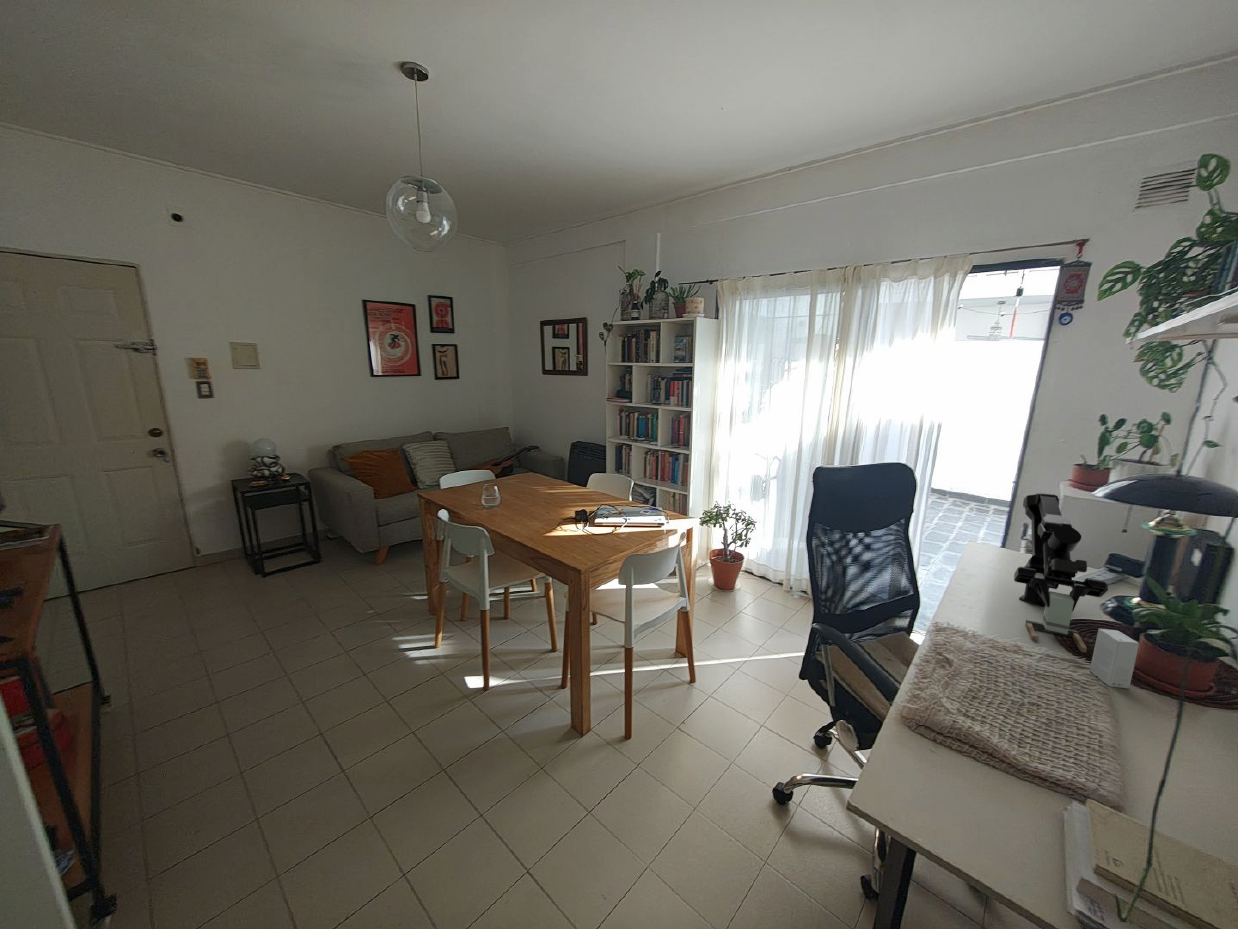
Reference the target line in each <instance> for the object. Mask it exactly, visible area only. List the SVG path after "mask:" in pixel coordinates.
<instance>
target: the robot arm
mask: <svg viewBox="0 0 1238 929" xmlns="http://www.w3.org/2000/svg"><path fill="white" fill-rule="evenodd" d="M1022 507H1023V508H1024V511H1025V513H1024V514H1025V515H1026V516H1027V517H1028V519H1029V520H1030V521H1031V557H1030V558H1029V560H1028V561H1027V563H1026V564H1025V565H1024V566H1018V567H1017V568H1016V570H1015V572H1014V576H1013V581H1014V582H1016V583H1021V584H1025V586H1024V587H1025V588H1024V594H1023V595H1021V596H1019V598H1018V599H1019V600H1021V601H1024V602H1027V603H1029V604H1033V605H1036V606H1039V607H1042V608H1045V605H1046V606H1047V607H1049V606H1050V600H1049V594H1048V591H1050V589H1053V590H1058V588H1059V585H1061V586H1064V587H1065V586H1066V587H1070V588H1072V589H1071V591H1070V592H1069V595H1070V596H1071V598H1072V599H1073V600H1074V604H1073V609H1072V613H1073V612H1074V610H1075V608H1076V606H1077V603H1078V601H1079V600H1080V598H1081V597H1083V598H1084V597H1085V596H1091V597H1095V598H1100V597H1101V598H1102V597H1103V596H1104V595H1105V594H1106V593H1107V592H1108V591H1109V586H1108V583H1106V581H1105V580H1102V579H1095V578H1089V577H1086V578H1085V579H1084V581H1080V580H1076V579H1075V580H1074V578H1075V577H1076V574H1077V575H1078V573H1086V572H1087V571H1088V564H1087V563H1088V562H1087V560H1082V559H1077V560H1076V559H1075V561H1072V558H1071V552H1073V551H1074V550H1075V548H1076V547H1077V546H1078V544H1079V542H1080V541H1081V540H1082V534H1081V533H1080V532H1079V530H1077V529H1075V527H1073V525H1072V524H1071V522H1070V520H1068V519H1066V518H1064V517H1063V516H1062V513H1061V510H1060V498H1059V497H1058V494H1054V493H1046V492H1045V493H1044V492H1038V493H1035V494H1028V495H1026V496H1025V497H1024V498H1023V502H1022Z"/></svg>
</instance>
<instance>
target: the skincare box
mask: <svg viewBox="0 0 1238 929" xmlns="http://www.w3.org/2000/svg"><path fill="white" fill-rule="evenodd" d="M1139 646H1140V643H1139V641H1136V640H1134V639H1132V637H1129V636H1128V635H1126V634H1124V633H1123V632H1121V631H1119V630H1118V629H1117V630H1115V629H1107V628H1098V630H1097V634H1096V639H1095V644H1094V648H1093V654H1092V657H1091V663H1090V667H1089V672H1090V671H1091V672H1092V673H1093V674H1095V675H1097V676H1098V679H1099V680H1100V681H1101V682H1103V683H1105V684H1106V685H1107V686H1108V687H1112V688H1119V689H1121V688H1122V689H1130V686H1131V681H1132V678H1133V672H1134V669H1135V666H1136V659H1137V655H1138V652H1139ZM1091 672H1090V673H1091ZM1092 673H1091V674H1092ZM1093 674H1092V675H1093ZM1095 675H1094V676H1095Z"/></svg>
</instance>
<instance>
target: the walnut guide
mask: <svg viewBox="0 0 1238 929" xmlns="http://www.w3.org/2000/svg"><path fill="white" fill-rule="evenodd" d="M1025 628H1026V631H1027V633H1028V635H1029V638H1030V639H1031V640H1030V641H1033V642H1037V639H1038V635H1037V633H1036V631H1035V630H1038V631H1043V632H1046V633H1052V634H1057V635H1061V636H1064V637H1070V638H1072V639H1073V641H1074V643H1075V644H1077V645H1076V646H1077V648H1078V649H1079V651H1080V653H1083V654H1086V653H1087V650H1088V648H1087V646H1086V644H1085V642H1084V641H1083V639H1082V638H1081V636H1080V635H1079V631H1078V630H1073V629H1070V628H1069V630H1068V634H1063V633H1059V632H1054V631H1050V630H1046V629H1045V627H1044V625H1043V623H1042V622H1037V621H1033V620H1029V619H1026V620H1025Z"/></svg>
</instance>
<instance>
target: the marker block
mask: <svg viewBox="0 0 1238 929" xmlns="http://www.w3.org/2000/svg"><path fill="white" fill-rule="evenodd" d="M1048 594H1049V600H1050V606H1049V607H1047V606H1046V605H1045V607H1044V612H1043V615H1042V622H1041V623H1043V625H1044V627H1045V629H1046V630H1050V631H1054V632H1059V633H1063V634H1068V630H1069V629H1070V625H1071V624H1070V623H1071V619H1072V615H1073V614H1072V613H1073V612H1072V609H1073V604H1074V600H1073V599H1072V598H1071V596H1070V594H1066V593H1061V592H1055V591H1050V590H1049V591H1048Z"/></svg>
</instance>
